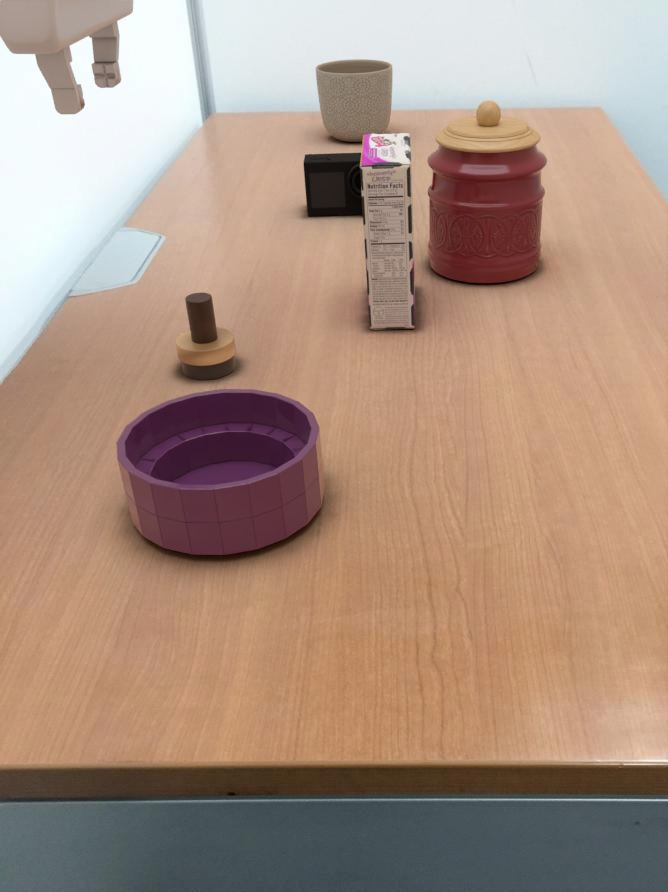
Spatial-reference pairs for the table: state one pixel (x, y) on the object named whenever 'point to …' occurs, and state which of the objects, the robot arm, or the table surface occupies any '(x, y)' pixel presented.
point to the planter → (355, 97)
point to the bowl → (222, 470)
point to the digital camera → (333, 184)
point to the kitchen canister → (486, 198)
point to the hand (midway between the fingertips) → (91, 98)
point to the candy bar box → (388, 230)
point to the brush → (205, 342)
